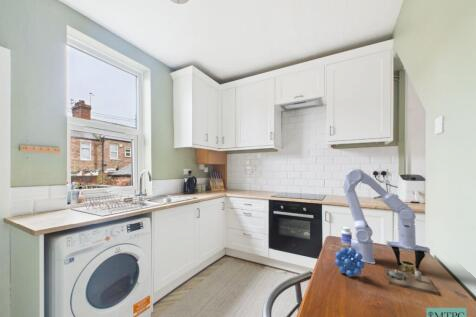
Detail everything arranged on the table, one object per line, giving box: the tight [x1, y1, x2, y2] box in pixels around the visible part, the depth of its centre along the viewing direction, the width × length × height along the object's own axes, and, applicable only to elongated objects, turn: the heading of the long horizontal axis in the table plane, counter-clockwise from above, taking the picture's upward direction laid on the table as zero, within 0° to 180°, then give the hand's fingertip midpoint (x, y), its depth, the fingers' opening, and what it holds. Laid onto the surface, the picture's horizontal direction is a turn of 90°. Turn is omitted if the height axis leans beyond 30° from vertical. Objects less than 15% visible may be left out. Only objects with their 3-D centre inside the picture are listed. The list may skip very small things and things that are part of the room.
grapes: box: [334, 246, 366, 278], centre depth 83 cm, size 12×7×12 cm, turn 39°
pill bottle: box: [340, 226, 353, 247], centre depth 118 cm, size 5×5×10 cm
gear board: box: [383, 267, 439, 296], centre depth 79 cm, size 14×12×4 cm
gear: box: [398, 259, 418, 274], centre depth 88 cm, size 6×7×3 cm
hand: (407, 266), depth 88 cm, fingers closed on gear, 6 cm apart
